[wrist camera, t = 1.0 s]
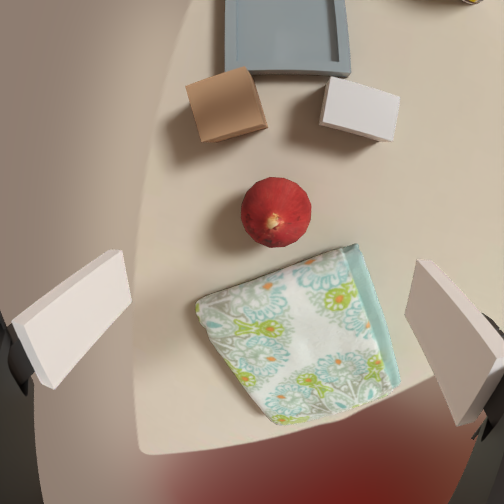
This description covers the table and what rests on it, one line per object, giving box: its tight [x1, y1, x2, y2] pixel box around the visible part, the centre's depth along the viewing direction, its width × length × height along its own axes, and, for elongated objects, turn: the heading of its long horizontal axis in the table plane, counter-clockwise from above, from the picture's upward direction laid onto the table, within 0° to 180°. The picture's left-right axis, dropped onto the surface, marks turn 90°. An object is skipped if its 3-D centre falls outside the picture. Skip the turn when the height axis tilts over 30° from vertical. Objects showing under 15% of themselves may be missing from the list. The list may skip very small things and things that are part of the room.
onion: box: [241, 177, 311, 248], centre depth 24 cm, size 6×6×8 cm
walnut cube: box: [185, 66, 268, 142], centre depth 23 cm, size 5×5×5 cm
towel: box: [195, 244, 401, 425], centre depth 31 cm, size 18×21×5 cm
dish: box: [225, 0, 351, 77], centre depth 20 cm, size 11×11×2 cm
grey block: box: [319, 76, 400, 142], centre depth 22 cm, size 4×6×4 cm, turn 80°
